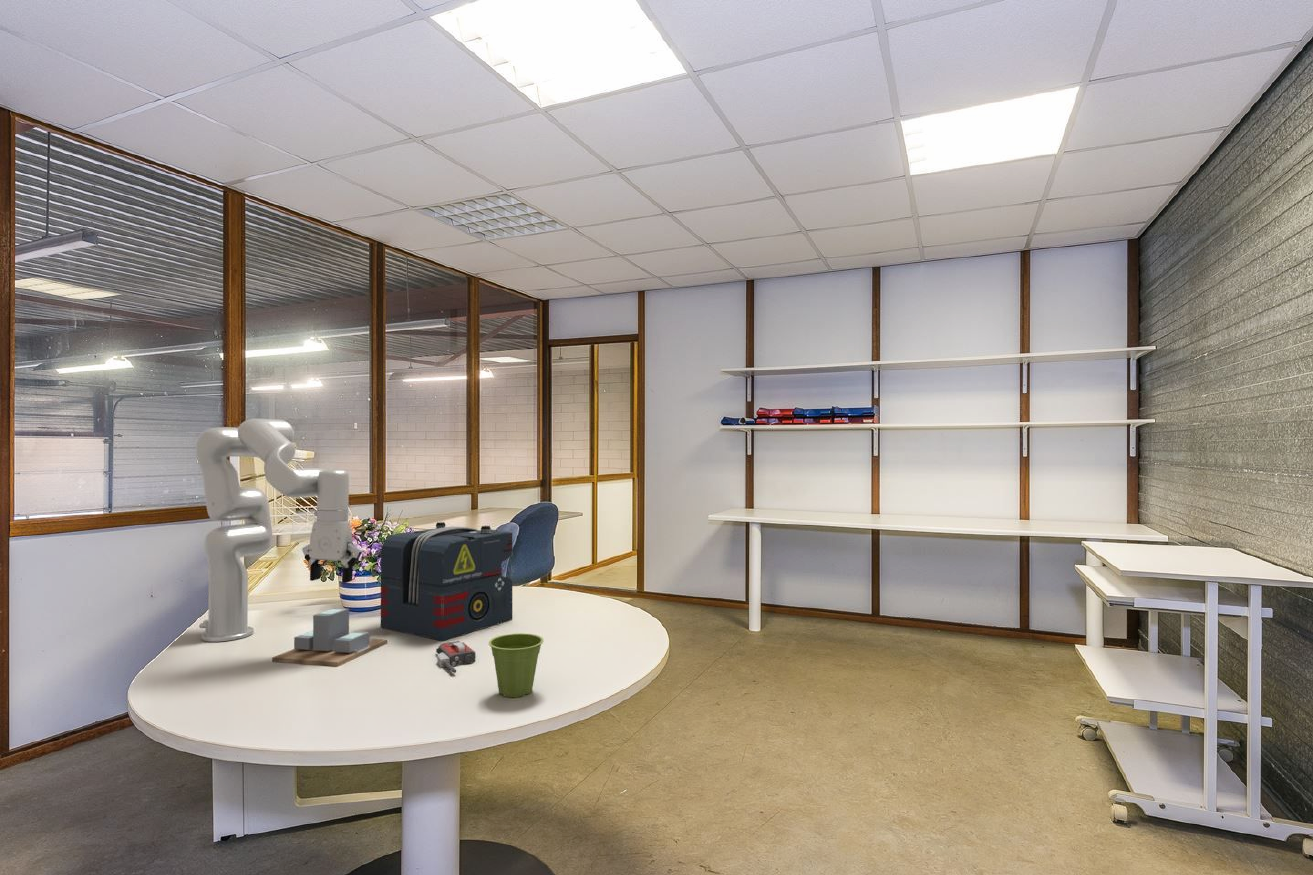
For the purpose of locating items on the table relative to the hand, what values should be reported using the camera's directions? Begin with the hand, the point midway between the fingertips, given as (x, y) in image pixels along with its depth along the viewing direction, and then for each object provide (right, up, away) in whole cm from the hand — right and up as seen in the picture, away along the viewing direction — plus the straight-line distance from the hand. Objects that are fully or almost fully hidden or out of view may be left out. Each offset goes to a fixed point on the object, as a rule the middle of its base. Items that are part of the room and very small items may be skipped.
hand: (331, 580), depth 176 cm
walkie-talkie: (+36, -19, -9) cm, 42 cm away
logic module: (0, -17, 0) cm, 17 cm away
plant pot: (+56, -18, -30) cm, 66 cm away
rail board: (+1, -19, -1) cm, 19 cm away
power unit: (+22, -19, +28) cm, 41 cm away
